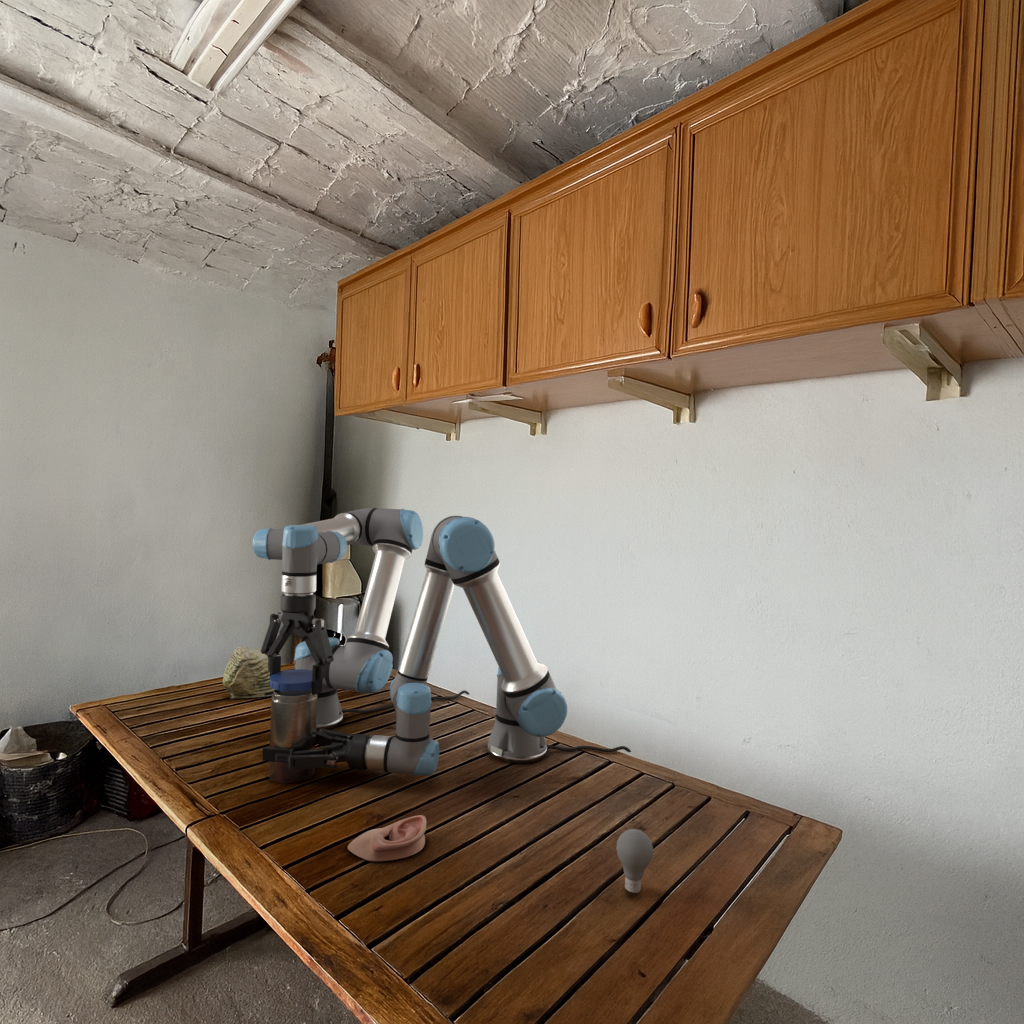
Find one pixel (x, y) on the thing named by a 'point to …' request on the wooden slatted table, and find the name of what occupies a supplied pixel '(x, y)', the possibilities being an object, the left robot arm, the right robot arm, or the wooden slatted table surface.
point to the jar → (292, 731)
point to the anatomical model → (391, 840)
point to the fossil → (247, 674)
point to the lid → (291, 680)
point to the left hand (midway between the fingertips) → (295, 689)
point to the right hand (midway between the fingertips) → (274, 744)
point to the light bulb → (634, 857)
